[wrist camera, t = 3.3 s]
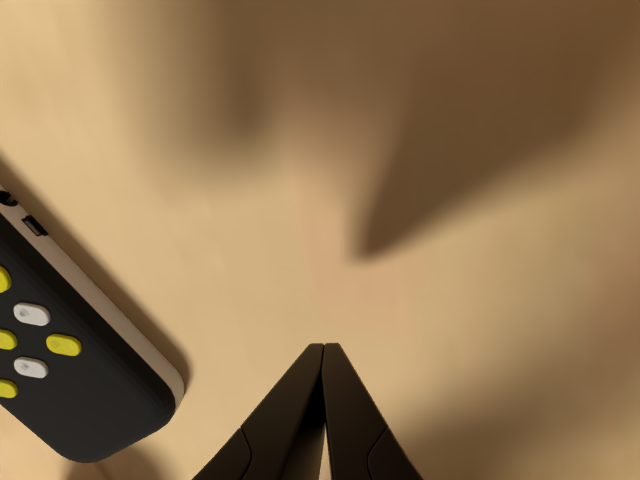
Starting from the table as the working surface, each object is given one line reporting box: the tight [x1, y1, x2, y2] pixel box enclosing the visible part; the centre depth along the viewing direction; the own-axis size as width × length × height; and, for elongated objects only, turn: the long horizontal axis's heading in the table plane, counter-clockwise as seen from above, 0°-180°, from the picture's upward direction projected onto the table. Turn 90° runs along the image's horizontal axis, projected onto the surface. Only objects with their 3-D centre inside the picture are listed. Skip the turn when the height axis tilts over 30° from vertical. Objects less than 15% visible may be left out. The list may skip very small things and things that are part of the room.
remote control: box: [0, 185, 184, 463], centre depth 12 cm, size 6×13×2 cm, turn 34°
